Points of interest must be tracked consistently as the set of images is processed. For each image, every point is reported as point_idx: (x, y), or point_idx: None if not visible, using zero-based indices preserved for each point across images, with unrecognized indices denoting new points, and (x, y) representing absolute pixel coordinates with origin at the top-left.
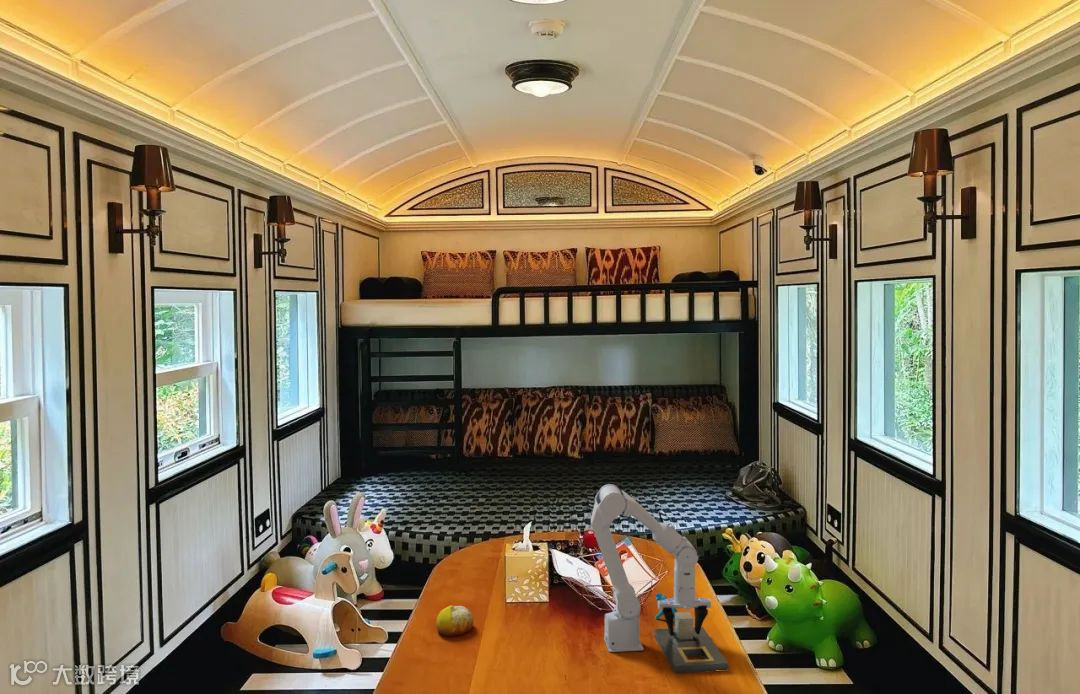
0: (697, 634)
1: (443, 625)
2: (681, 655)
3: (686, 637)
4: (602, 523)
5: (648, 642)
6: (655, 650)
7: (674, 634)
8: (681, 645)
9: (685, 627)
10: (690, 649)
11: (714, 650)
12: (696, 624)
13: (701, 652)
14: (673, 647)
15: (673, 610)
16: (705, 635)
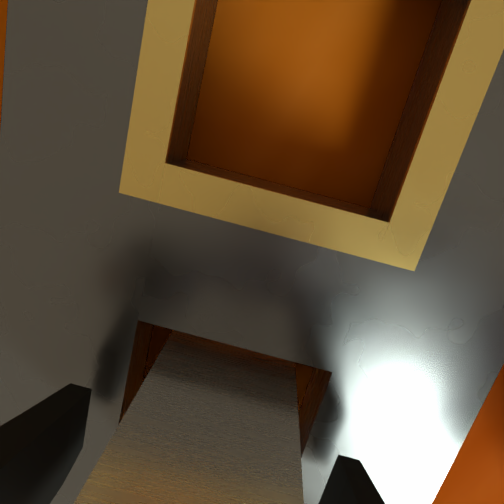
0: None
1: None
2: (482, 102)
3: (222, 384)
4: None
5: (467, 491)
6: (501, 381)
7: None
8: (333, 299)
9: (215, 476)
10: (293, 197)
11: (55, 82)
12: (30, 491)
13: (184, 162)
14: (434, 296)
15: None
16: (15, 372)
